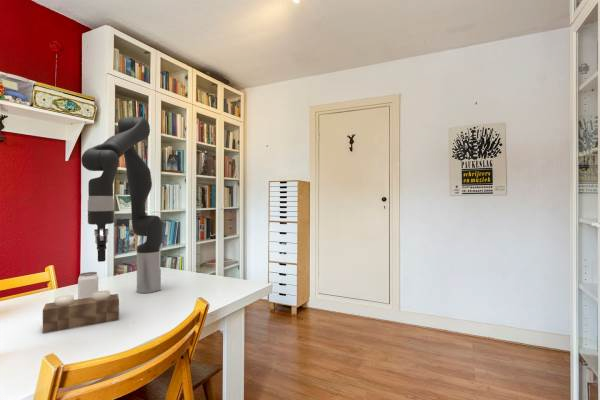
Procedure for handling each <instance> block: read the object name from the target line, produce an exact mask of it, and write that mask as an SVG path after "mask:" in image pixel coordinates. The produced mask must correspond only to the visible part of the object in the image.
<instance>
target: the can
mask: <svg viewBox="0 0 600 400" xmlns="http://www.w3.org/2000/svg"><path fill="white" fill-rule="evenodd" d="M98 291H99V275H98V272H97V271H88V272H82V273H80V274H79V277H78V280H77V299H83V298H90V297H92V294H93V293H94V292H98Z"/></svg>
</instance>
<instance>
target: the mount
mask: <svg viewBox="0 0 600 400" xmlns="http://www.w3.org/2000/svg"><path fill="white" fill-rule="evenodd" d="M119 320H120V299H119V293H114V294H110V298H109V299H107V300H102V301H93V300H92V297H90V298H83V299H78V298H77V299H74V303H73V304H70V305H67V306H54V302H46V303H45V304H44V307H43V308H42V334H45V333H52V332H58V331H62V330H68V329H74V328H81V327H85V326H92V325H96V324H103V323H108V322H114V321H115V322H116V321H119Z"/></svg>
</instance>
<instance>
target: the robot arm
mask: <svg viewBox="0 0 600 400" xmlns="http://www.w3.org/2000/svg"><path fill="white" fill-rule="evenodd" d="M117 129H118V130H117V132H118V133H117V134H114V135H112V136H110V137H109V138H107V139H106V140H105V141H104V142H103V143H101V144H97V145H95V146H92V147H90V148H88V149H86V150H85V151H84V152H83V154H82V156H81V158H80V161H81V165H82V166H83V167H84V169H86V170H87V171H92V172H102V173H101V175H99V176H98V177H94V178H90V179H89V181H88V186H87V187H88V188H87V189H88V194H87V195H88V199H87V223H88V225H96V226H97V227H96V229H94V231H93V232H94V236H95V244H96V251H97V262H99V263H101V262H106V260H107V259H106V258H107V257H106V256H107V255H106V251H107V243H109V242H108V241H109V240H108V238H109V237H108V235H109V228H106V226H107V225H111V224H114V223H115V201H114V182H115V177H116V174H117V171H118V168H119V163H120V160H119V159H120V158H121V157H122V156H124V157H123V158H124V162H125V164H124V165H125V170H126V171H125V172H126V177H127V178H126V179H127V185H128V190H129V197H130V205H131V206H130V207H131V208H130V209H131V210H130V211H131V228H132V230H133V233H134V234H135V235H136V236H138V237H140V236H141V237H146V239H145V241H144V243H141V244H138V245H137V246H136V292H137V293H139V294H150V293H154V292H157V291H161V290H162V287H161V286H162V285H161V284H162V281H161V280H162V276H161V275H162V269H161V267H160V266H161V246H162V241H163V240H162V237H163V236H162V235H163V222H162V219H161V217H160V216H158V215H150V214H149V215H147V212H146V202H147V199H148V197H149V195H150V192H151V190H152V187H153V181H152V175H151V174H152V172H151V169H150V167H149V166H148V165H147V163H145V161H144V160H143V159H142V157H141V156H140V155H139V154H138V152H137V151H136V148H135V145H136V144H139V143H141V142H142V141H144V140H146V139H148V138H149V136H150V133H151V125H150V123H149V121H148V120H147V119H146V118H145V117H142V116H133V117H132V116H131V117H127V116H126V117H121V118H119V119H118V122H117Z"/></svg>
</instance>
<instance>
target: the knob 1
mask: <svg viewBox="0 0 600 400" xmlns="http://www.w3.org/2000/svg"><path fill="white" fill-rule="evenodd" d="M74 300H75V296H74V295H73V294H67V295H66V294H65V295H61V296H57V297H55V298H54V300H53V301H54V302H53V303H54V306H67V305H70V304H73V303H74Z"/></svg>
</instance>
